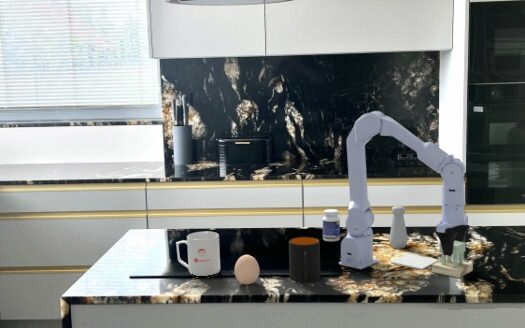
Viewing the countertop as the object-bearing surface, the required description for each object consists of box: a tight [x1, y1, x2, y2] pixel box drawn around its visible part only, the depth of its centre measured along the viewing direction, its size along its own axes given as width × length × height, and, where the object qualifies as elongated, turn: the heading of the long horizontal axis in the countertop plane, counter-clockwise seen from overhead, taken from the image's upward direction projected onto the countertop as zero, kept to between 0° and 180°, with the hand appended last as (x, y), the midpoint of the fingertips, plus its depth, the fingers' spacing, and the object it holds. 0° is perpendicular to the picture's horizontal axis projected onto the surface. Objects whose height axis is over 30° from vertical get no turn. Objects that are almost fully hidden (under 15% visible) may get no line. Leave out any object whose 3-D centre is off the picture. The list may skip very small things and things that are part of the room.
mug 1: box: [175, 231, 221, 276], centre depth 167 cm, size 12×9×11 cm
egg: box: [234, 254, 260, 285], centre depth 158 cm, size 7×7×8 cm
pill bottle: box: [322, 208, 341, 242], centre depth 198 cm, size 6×6×10 cm
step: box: [431, 257, 474, 279], centre depth 162 cm, size 8×8×2 cm
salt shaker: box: [388, 205, 409, 249], centre depth 187 cm, size 6×6×13 cm
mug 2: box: [288, 236, 321, 284], centre depth 159 cm, size 8×12×10 cm
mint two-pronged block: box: [439, 241, 466, 267], centre depth 162 cm, size 5×5×6 cm
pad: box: [390, 253, 440, 271], centre depth 172 cm, size 10×10×1 cm
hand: (452, 252), depth 162 cm, fingers closed on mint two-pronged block, 5 cm apart
